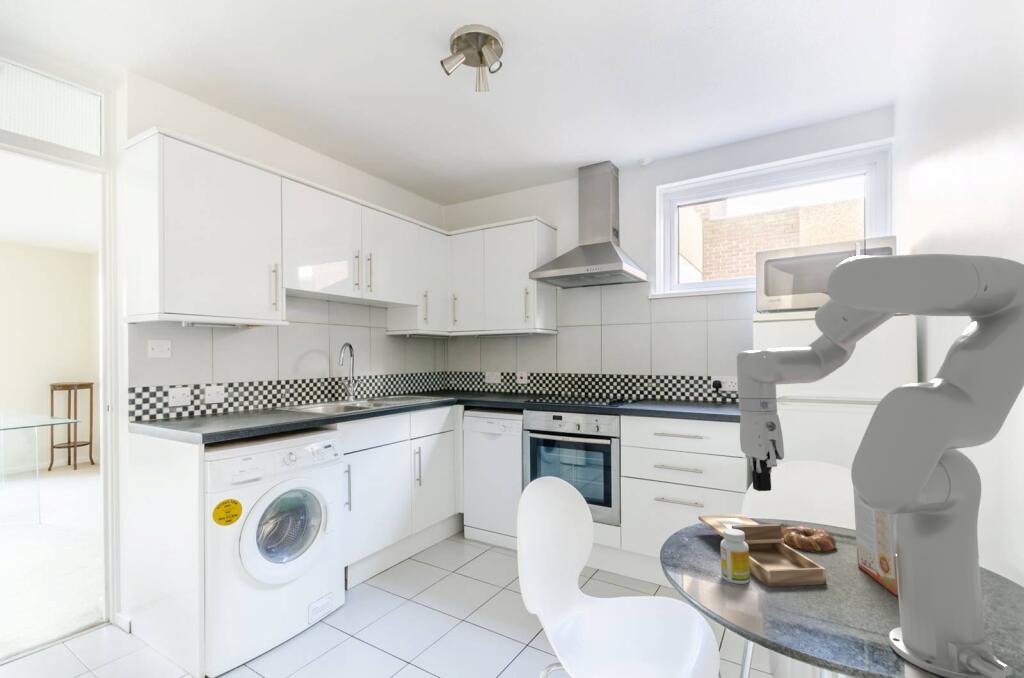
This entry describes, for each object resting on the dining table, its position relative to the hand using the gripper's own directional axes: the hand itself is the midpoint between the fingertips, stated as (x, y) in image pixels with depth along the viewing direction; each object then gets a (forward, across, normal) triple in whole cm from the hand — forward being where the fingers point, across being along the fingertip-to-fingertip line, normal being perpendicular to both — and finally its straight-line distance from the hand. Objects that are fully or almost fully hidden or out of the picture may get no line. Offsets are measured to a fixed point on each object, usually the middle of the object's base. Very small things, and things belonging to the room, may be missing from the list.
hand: (762, 489), depth 104 cm
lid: (+13, +14, -1) cm, 19 cm away
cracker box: (+17, -8, -21) cm, 28 cm away
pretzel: (+17, +13, -17) cm, 27 cm away
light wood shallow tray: (+17, +1, -1) cm, 17 cm away
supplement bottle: (+17, -5, +9) cm, 20 cm away
